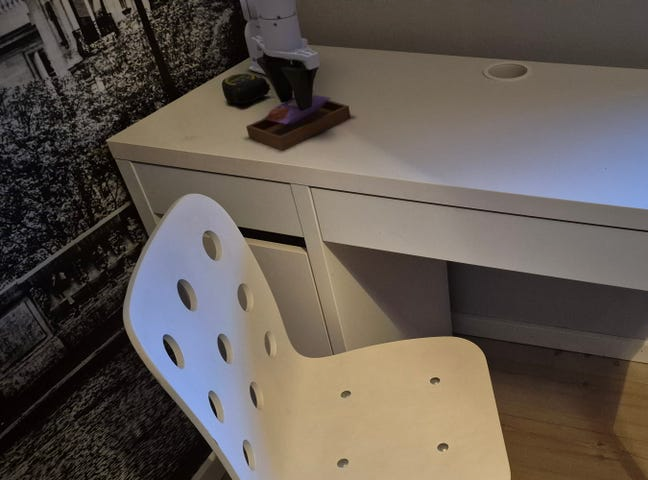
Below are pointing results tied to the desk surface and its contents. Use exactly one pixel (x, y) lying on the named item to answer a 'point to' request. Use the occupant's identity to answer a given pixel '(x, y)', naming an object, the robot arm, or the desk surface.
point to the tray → (298, 126)
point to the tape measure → (244, 88)
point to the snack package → (294, 110)
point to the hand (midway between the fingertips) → (296, 104)
